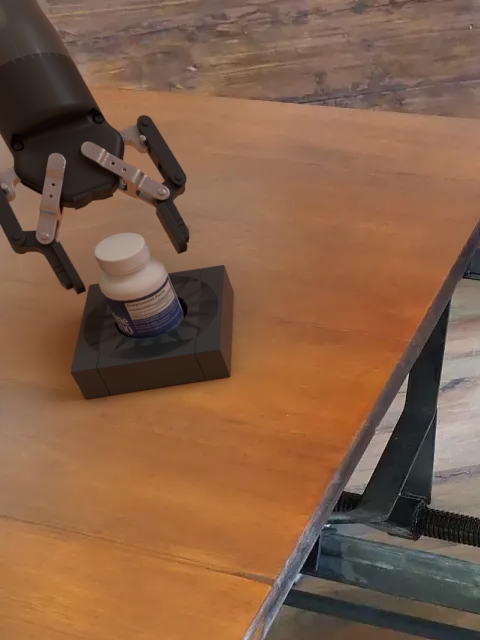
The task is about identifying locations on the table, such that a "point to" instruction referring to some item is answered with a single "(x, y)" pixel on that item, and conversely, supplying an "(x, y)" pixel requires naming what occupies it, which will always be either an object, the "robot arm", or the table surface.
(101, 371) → the socket plate
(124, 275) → the pill bottle
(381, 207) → the table surface
